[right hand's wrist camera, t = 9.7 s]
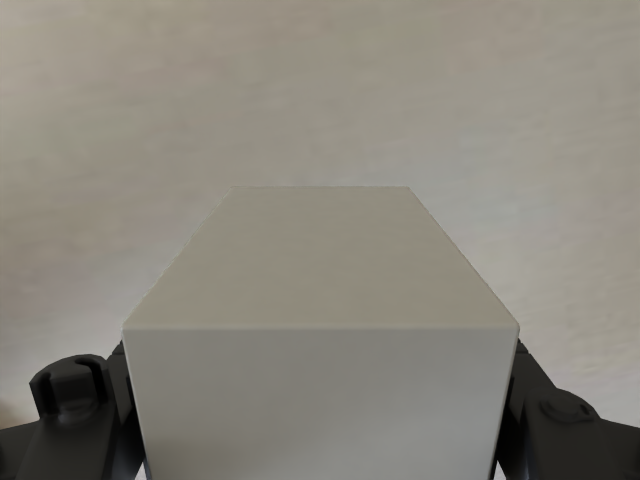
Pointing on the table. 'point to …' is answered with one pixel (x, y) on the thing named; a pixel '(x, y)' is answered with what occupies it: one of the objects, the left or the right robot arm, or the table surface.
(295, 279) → the bar
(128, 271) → the table surface
